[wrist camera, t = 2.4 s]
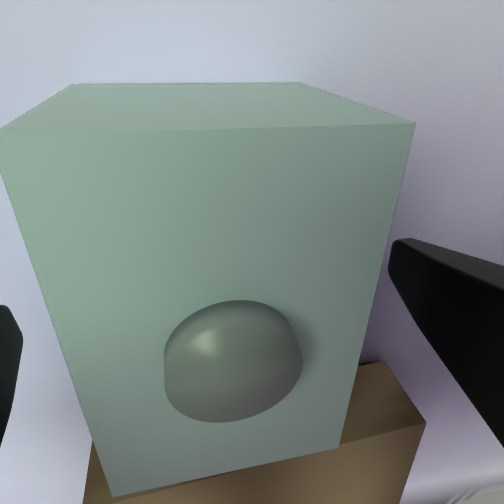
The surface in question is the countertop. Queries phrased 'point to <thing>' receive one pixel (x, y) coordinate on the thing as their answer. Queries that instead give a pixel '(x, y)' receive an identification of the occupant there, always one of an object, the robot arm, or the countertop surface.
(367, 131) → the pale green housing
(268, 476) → the walnut stand
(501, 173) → the countertop surface
